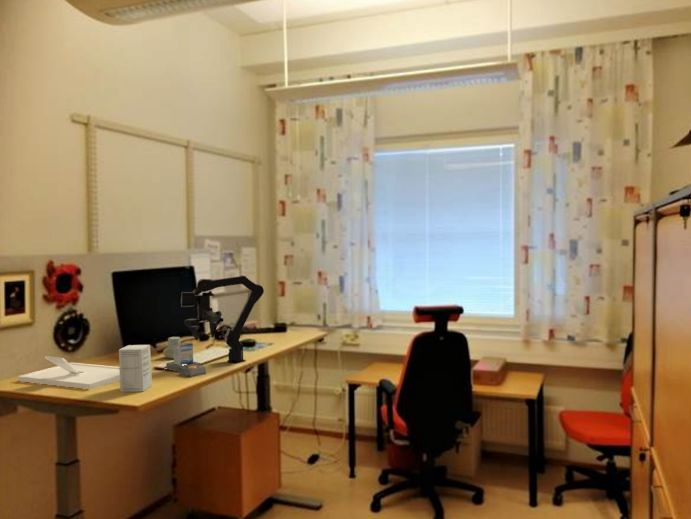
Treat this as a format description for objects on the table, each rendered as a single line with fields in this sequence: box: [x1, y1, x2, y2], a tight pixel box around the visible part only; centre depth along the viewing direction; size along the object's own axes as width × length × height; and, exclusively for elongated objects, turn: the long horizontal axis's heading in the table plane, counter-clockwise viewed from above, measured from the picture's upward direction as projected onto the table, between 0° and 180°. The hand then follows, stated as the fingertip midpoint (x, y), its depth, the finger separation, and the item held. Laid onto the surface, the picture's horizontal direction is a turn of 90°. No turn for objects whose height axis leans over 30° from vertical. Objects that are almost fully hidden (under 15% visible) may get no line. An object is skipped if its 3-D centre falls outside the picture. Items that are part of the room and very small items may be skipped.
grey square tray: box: [163, 360, 203, 373], centre depth 262 cm, size 12×14×2 cm
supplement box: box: [118, 344, 153, 393], centre depth 227 cm, size 10×9×17 cm
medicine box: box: [173, 342, 194, 365], centre depth 262 cm, size 8×4×9 cm, turn 148°
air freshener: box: [162, 336, 182, 360], centre depth 286 cm, size 11×8×10 cm
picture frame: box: [17, 355, 120, 390], centre depth 247 cm, size 40×12×28 cm
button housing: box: [178, 365, 207, 378], centre depth 250 cm, size 8×8×3 cm
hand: (204, 338), depth 269 cm, fingers open, 9 cm apart
